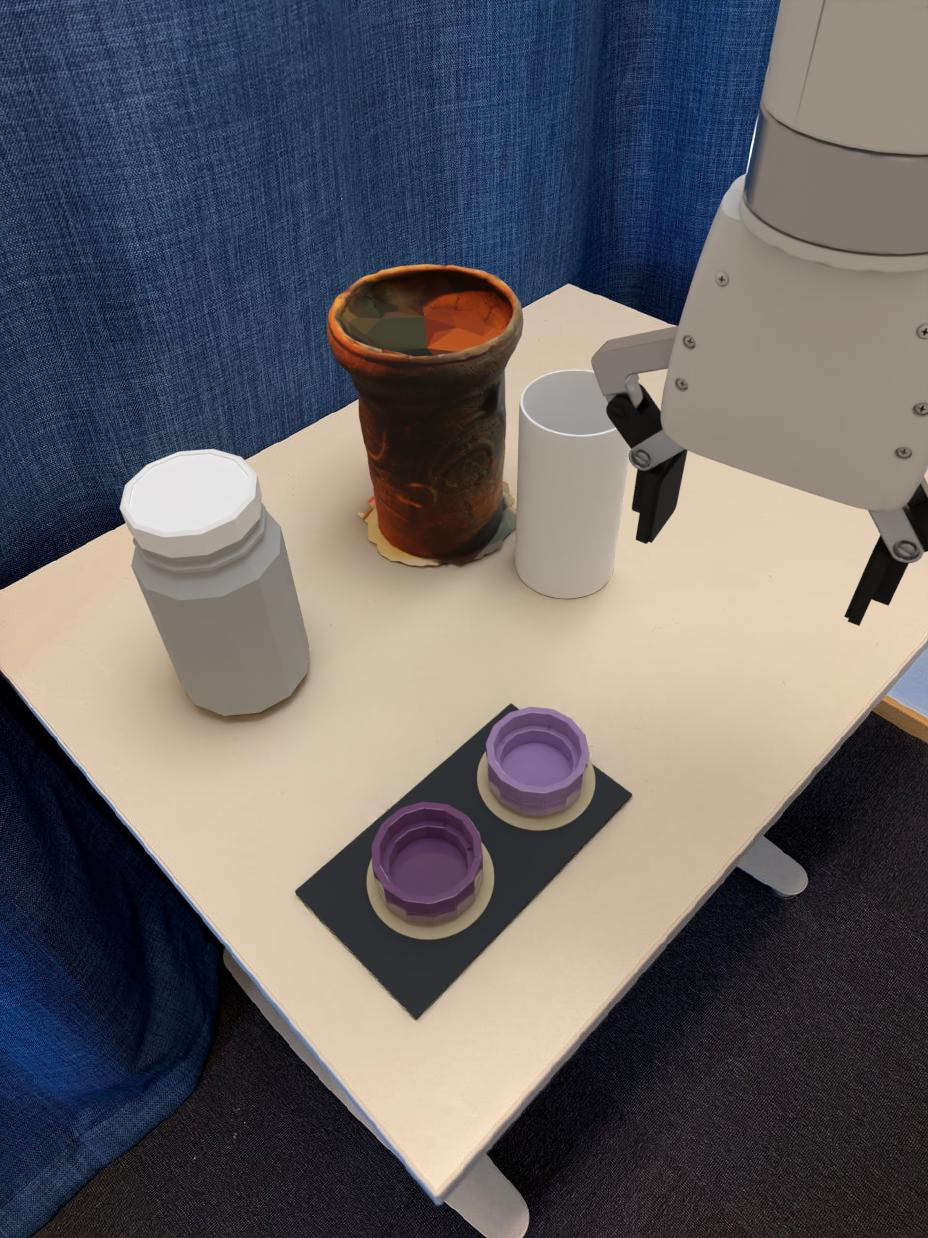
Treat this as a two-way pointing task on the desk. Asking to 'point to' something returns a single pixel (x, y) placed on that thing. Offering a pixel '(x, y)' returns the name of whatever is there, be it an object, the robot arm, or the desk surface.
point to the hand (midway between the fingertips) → (753, 562)
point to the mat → (512, 878)
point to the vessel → (431, 406)
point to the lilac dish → (536, 761)
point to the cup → (568, 485)
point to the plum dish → (427, 862)
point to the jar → (217, 580)
